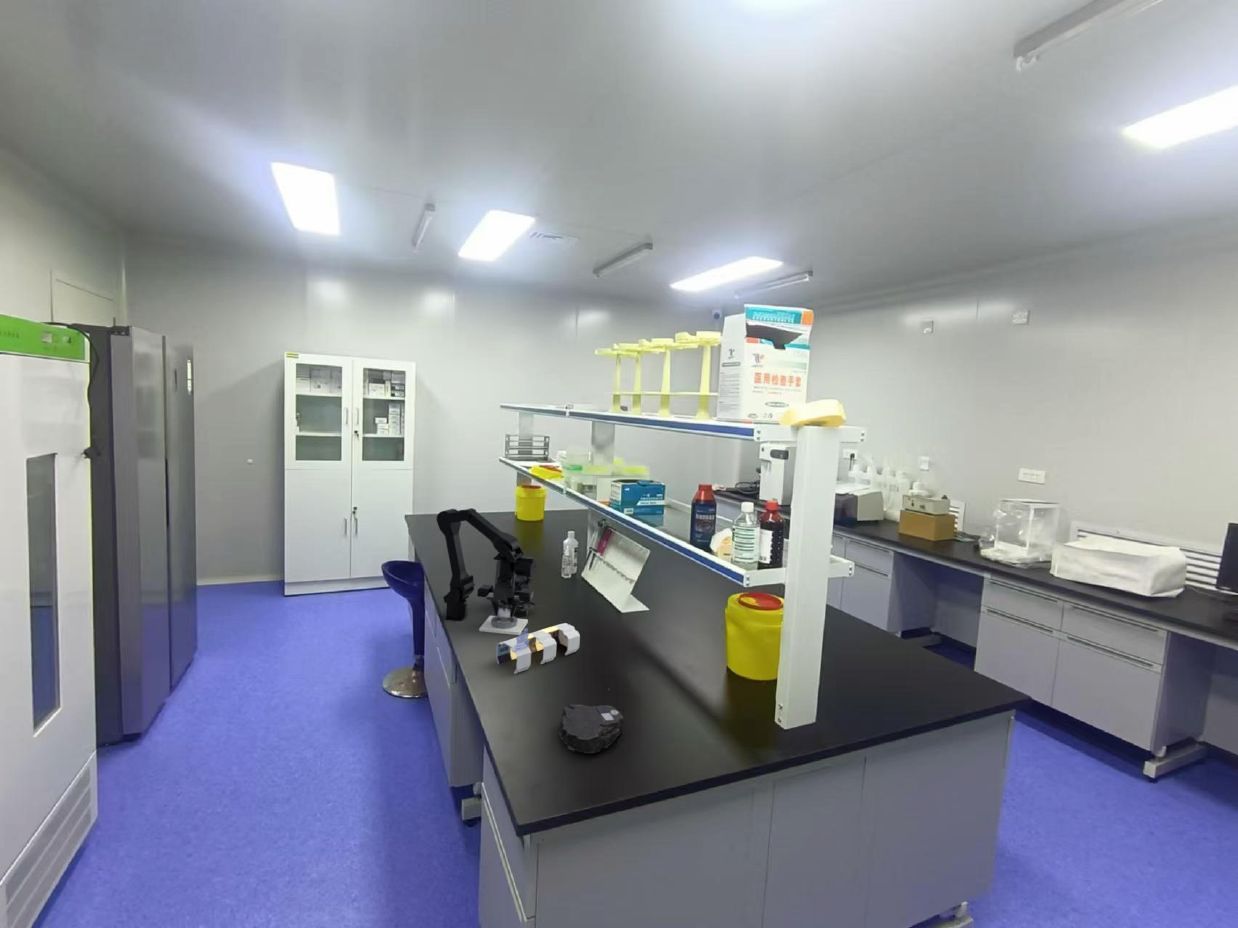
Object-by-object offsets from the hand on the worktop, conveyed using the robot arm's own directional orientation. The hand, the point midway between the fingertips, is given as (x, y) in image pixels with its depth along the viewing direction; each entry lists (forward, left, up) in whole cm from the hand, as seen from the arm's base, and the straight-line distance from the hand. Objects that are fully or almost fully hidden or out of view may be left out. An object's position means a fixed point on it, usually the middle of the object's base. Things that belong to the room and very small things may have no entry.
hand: (504, 616), depth 196 cm
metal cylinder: (0, 0, -1) cm, 1 cm away
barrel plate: (0, 0, -4) cm, 4 cm away
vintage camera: (0, +16, -4) cm, 16 cm away
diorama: (+17, -21, -4) cm, 27 cm away
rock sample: (+38, -59, -4) cm, 70 cm away
